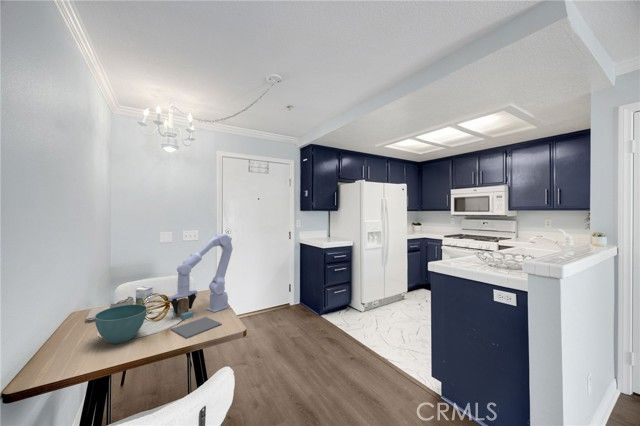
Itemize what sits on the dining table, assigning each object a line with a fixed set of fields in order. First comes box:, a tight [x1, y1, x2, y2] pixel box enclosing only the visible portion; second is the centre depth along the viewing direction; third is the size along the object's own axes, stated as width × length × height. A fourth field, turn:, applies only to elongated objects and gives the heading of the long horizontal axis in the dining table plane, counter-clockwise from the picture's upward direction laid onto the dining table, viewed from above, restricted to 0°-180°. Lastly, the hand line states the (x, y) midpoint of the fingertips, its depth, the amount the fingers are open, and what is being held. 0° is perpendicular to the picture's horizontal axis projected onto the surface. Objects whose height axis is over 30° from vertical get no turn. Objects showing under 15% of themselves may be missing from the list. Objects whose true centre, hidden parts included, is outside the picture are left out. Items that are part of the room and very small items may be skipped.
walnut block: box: [176, 297, 190, 318], centre depth 139 cm, size 4×4×9 cm
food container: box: [109, 296, 135, 308], centre depth 134 cm, size 12×6×10 cm, turn 179°
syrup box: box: [135, 285, 154, 305], centre depth 142 cm, size 6×6×14 cm
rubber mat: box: [170, 316, 222, 339], centre depth 126 cm, size 18×14×1 cm
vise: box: [169, 307, 194, 321], centre depth 141 cm, size 5×17×2 cm, turn 56°
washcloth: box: [85, 305, 110, 324], centre depth 138 cm, size 12×18×3 cm, turn 37°
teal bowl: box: [94, 303, 147, 345], centre depth 113 cm, size 18×18×12 cm
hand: (183, 310), depth 139 cm, fingers open, 7 cm apart
